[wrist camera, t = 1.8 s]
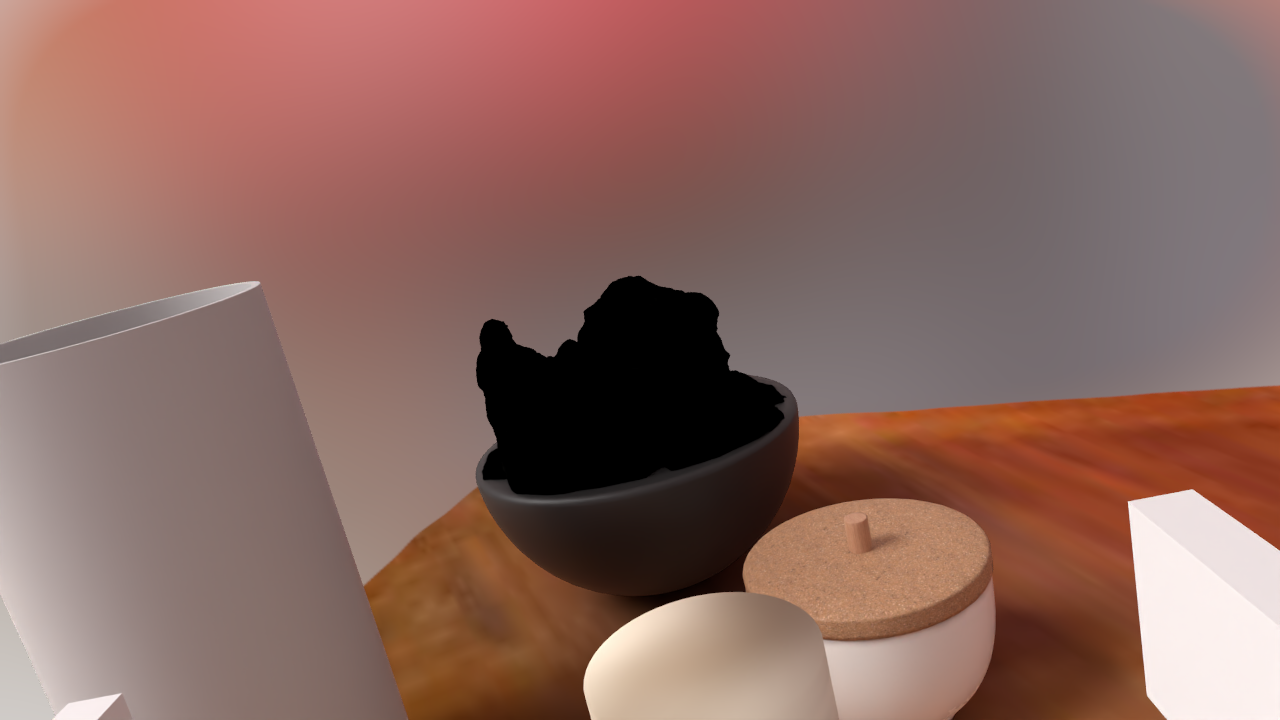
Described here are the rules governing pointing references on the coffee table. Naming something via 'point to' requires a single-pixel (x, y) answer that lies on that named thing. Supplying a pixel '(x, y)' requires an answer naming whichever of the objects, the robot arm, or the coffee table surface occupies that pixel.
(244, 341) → the cylinder vase
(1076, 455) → the coffee table surface
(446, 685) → the coffee table surface
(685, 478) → the coal bowl
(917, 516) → the lidded jar
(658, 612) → the ash peg
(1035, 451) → the coffee table surface
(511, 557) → the coffee table surface
